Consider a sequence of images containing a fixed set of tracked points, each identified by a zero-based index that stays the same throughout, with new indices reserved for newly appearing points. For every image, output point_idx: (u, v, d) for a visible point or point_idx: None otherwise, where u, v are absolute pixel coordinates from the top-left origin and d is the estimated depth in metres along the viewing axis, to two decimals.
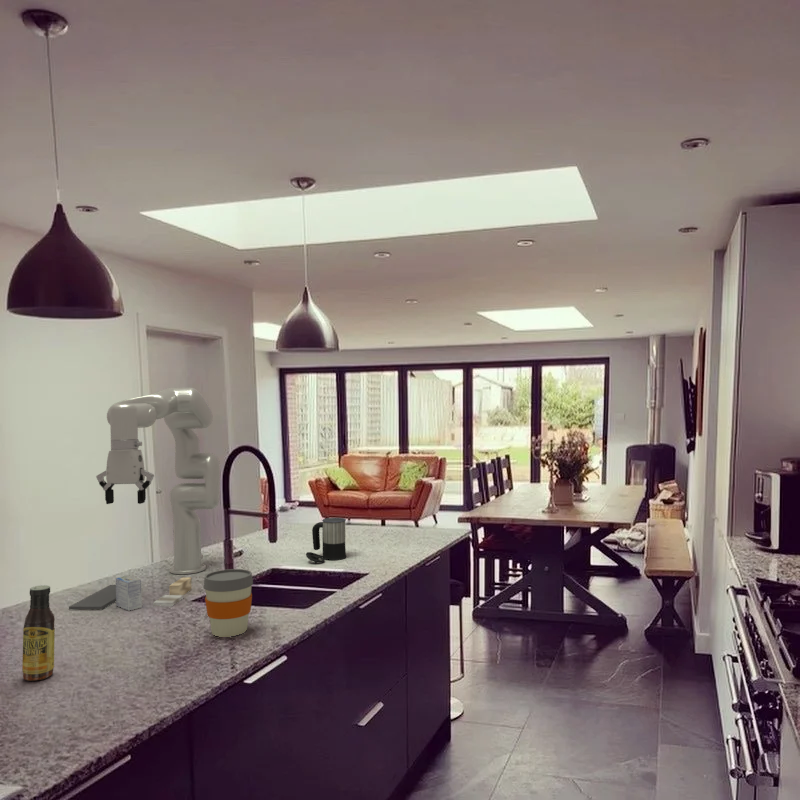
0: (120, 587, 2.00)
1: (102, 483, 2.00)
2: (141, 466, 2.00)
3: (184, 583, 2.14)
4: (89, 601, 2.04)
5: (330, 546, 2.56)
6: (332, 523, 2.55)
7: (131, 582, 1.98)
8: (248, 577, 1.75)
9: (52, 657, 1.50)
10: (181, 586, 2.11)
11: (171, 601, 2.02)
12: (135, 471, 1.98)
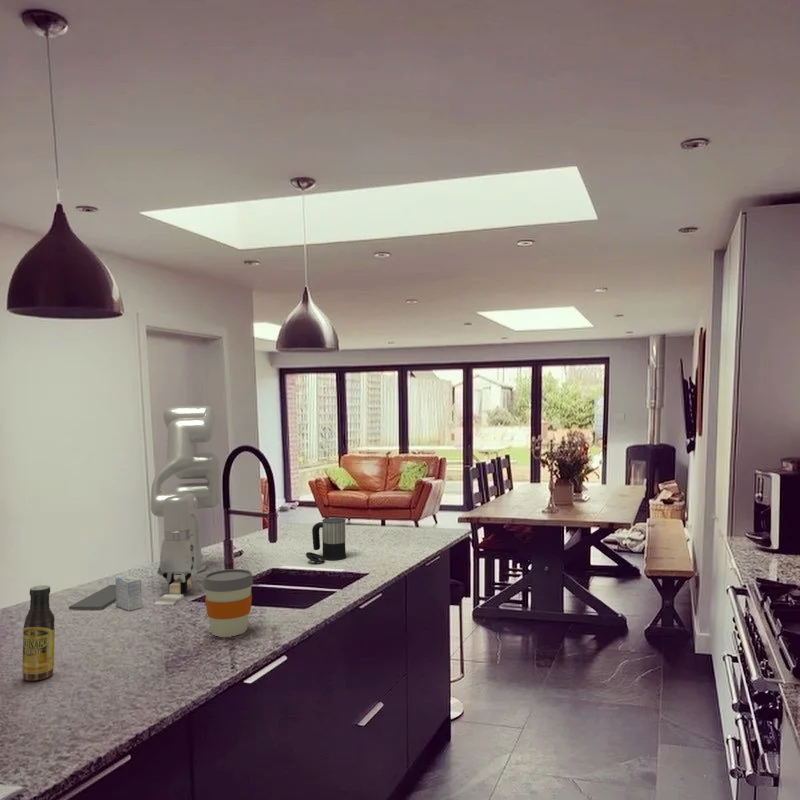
0: (120, 587, 2.00)
1: (166, 575, 2.12)
2: (193, 555, 2.12)
3: None
4: (89, 601, 2.04)
5: (330, 546, 2.56)
6: (332, 523, 2.55)
7: (131, 582, 1.98)
8: (248, 577, 1.75)
9: (52, 657, 1.50)
10: None
11: (171, 602, 2.02)
12: (187, 561, 2.10)
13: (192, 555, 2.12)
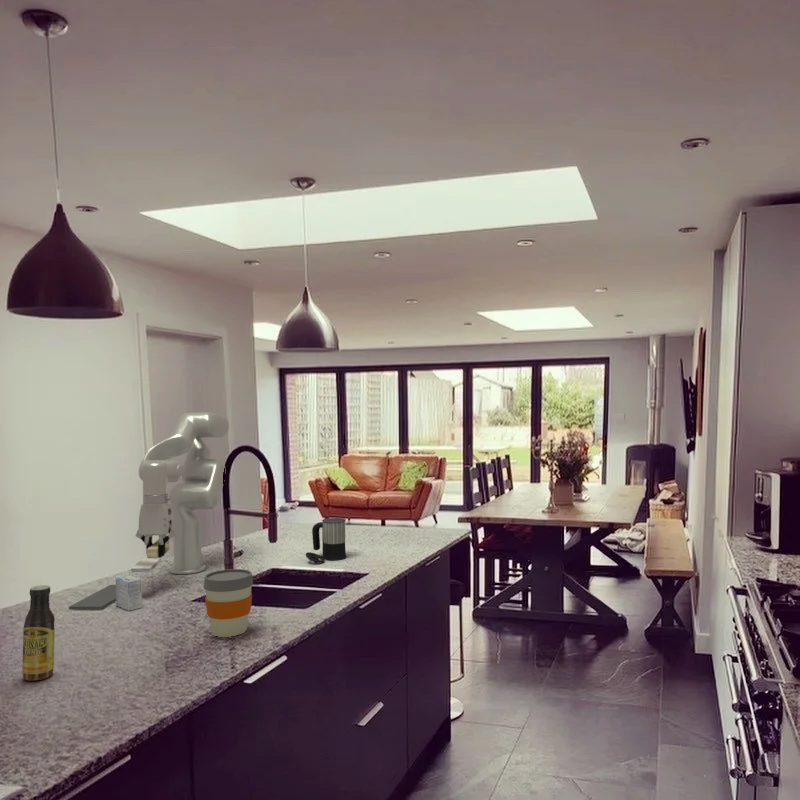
0: (120, 587, 2.00)
1: (143, 538, 2.19)
2: (170, 519, 2.20)
3: None
4: (89, 601, 2.04)
5: (329, 546, 2.55)
6: (332, 523, 2.55)
7: (131, 582, 1.98)
8: (248, 577, 1.75)
9: (52, 657, 1.50)
10: None
11: (148, 567, 2.10)
12: (165, 524, 2.17)
13: (170, 519, 2.19)
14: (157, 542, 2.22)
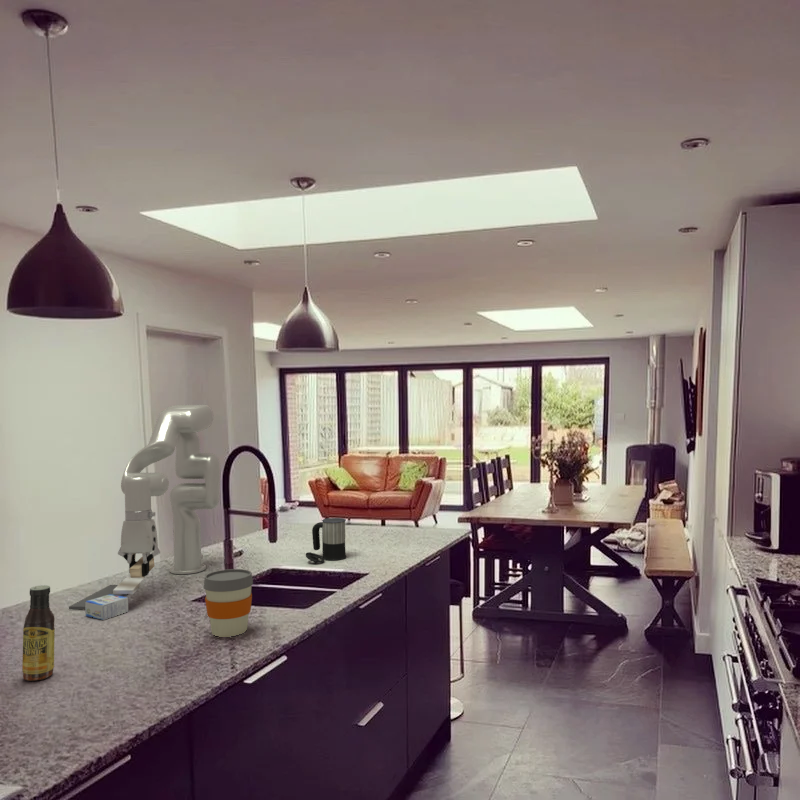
0: None
1: (126, 556, 2.07)
2: (154, 536, 2.08)
3: None
4: None
5: (329, 546, 2.55)
6: (332, 523, 2.55)
7: (103, 616, 1.89)
8: (248, 577, 1.75)
9: (52, 657, 1.50)
10: None
11: (131, 588, 1.98)
12: (149, 541, 2.06)
13: (154, 536, 2.07)
14: (141, 560, 2.11)
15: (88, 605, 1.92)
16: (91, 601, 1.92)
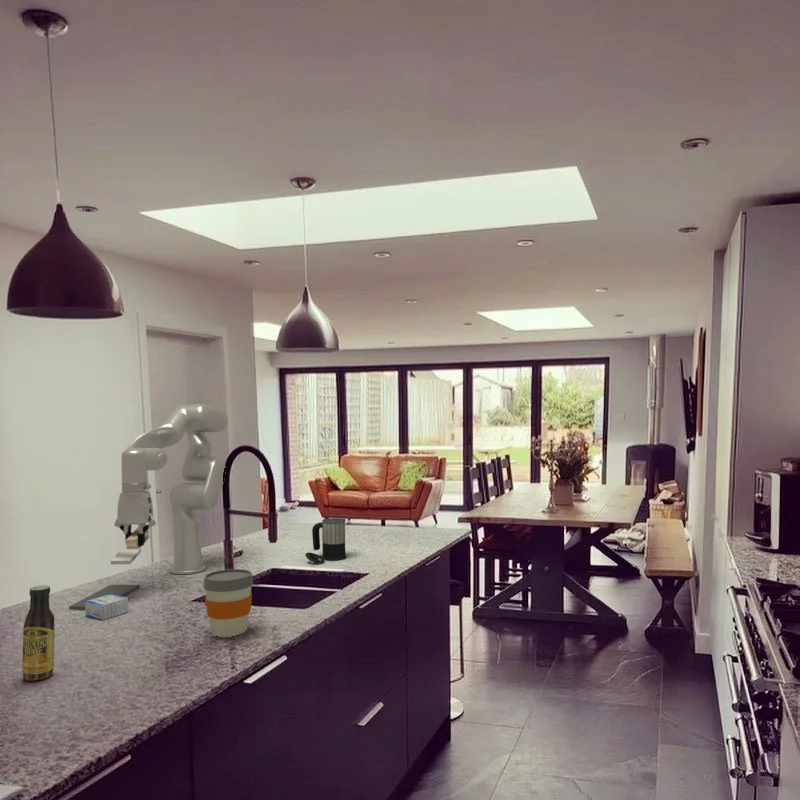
0: None
1: (122, 527, 2.15)
2: (150, 507, 2.15)
3: None
4: None
5: (329, 546, 2.55)
6: (332, 523, 2.55)
7: (103, 616, 1.89)
8: (248, 577, 1.75)
9: (52, 657, 1.50)
10: None
11: (128, 559, 2.06)
12: (145, 512, 2.13)
13: (149, 507, 2.15)
14: (136, 531, 2.18)
15: (88, 605, 1.92)
16: (91, 601, 1.92)
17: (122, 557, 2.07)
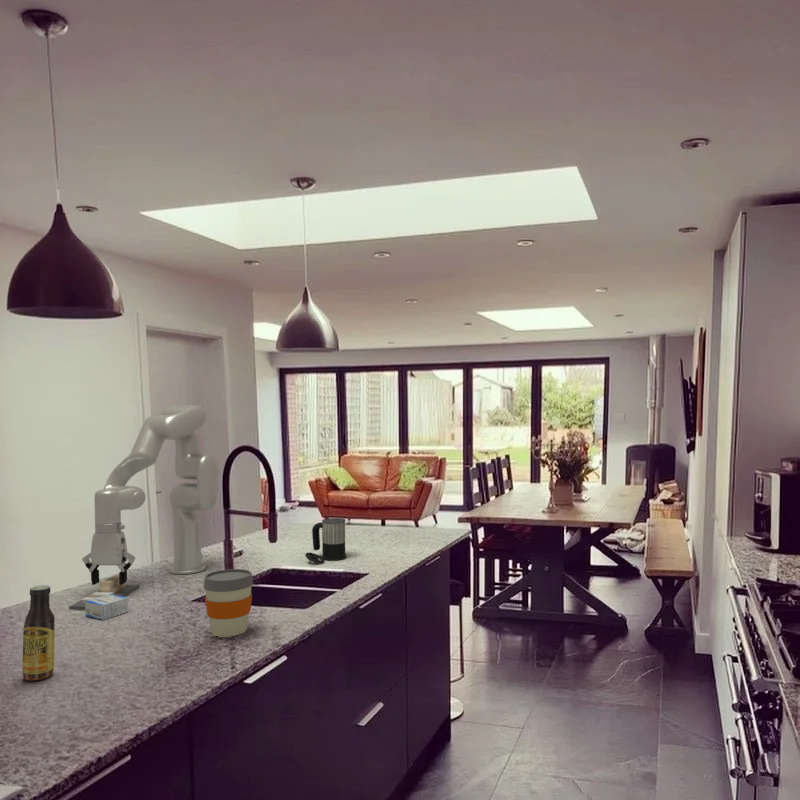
0: None
1: (88, 565, 2.13)
2: (124, 548, 2.13)
3: (116, 580, 2.14)
4: None
5: (329, 546, 2.55)
6: (332, 523, 2.55)
7: (103, 616, 1.89)
8: (248, 577, 1.75)
9: (52, 657, 1.50)
10: (112, 583, 2.12)
11: None
12: (118, 553, 2.11)
13: (123, 548, 2.12)
14: (112, 578, 2.16)
15: (88, 605, 1.92)
16: (91, 601, 1.92)
17: (94, 597, 2.04)
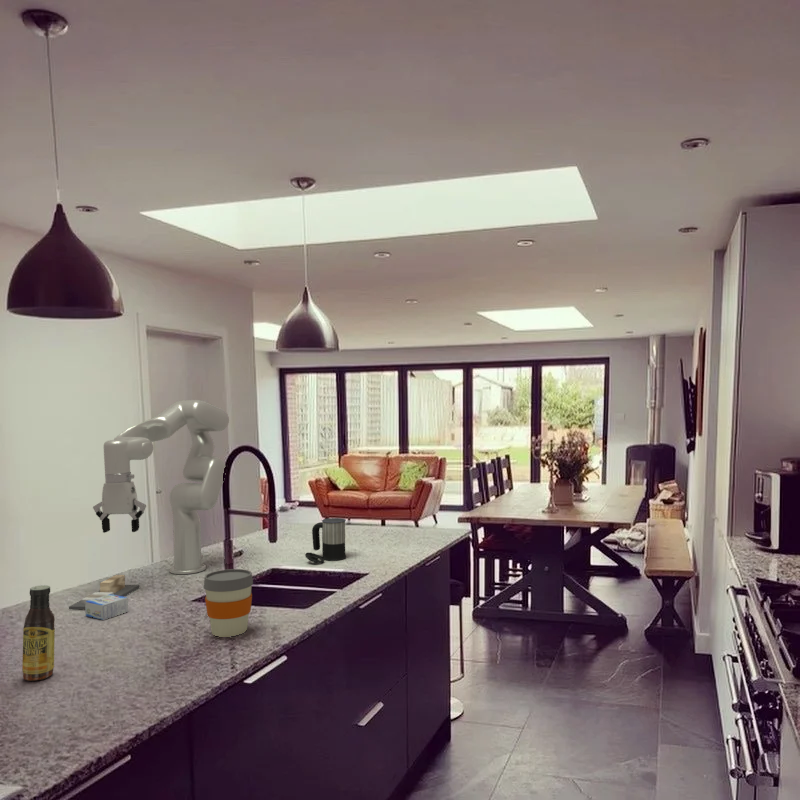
0: None
1: (98, 513, 2.16)
2: (134, 497, 2.16)
3: (116, 580, 2.14)
4: None
5: (329, 546, 2.55)
6: (331, 523, 2.55)
7: (103, 616, 1.89)
8: (248, 577, 1.75)
9: (52, 657, 1.50)
10: (112, 583, 2.12)
11: None
12: (128, 502, 2.13)
13: (133, 497, 2.15)
14: (112, 578, 2.16)
15: (88, 605, 1.92)
16: (91, 601, 1.92)
17: (94, 597, 2.04)
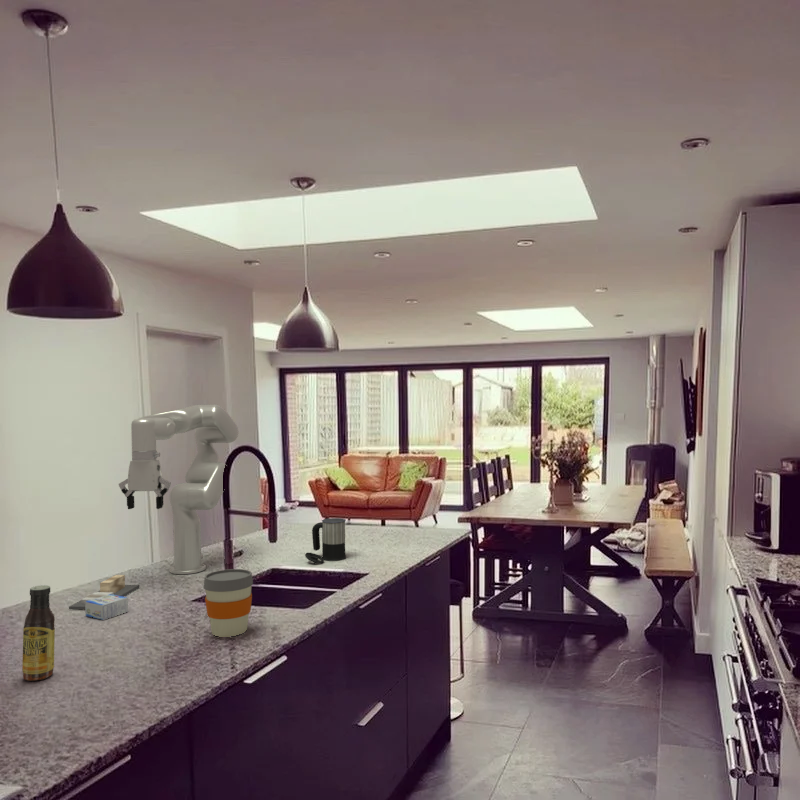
0: None
1: (124, 490, 2.21)
2: (159, 475, 2.21)
3: (116, 580, 2.14)
4: None
5: (329, 546, 2.55)
6: (331, 523, 2.55)
7: (103, 616, 1.89)
8: (248, 577, 1.75)
9: (52, 657, 1.50)
10: (112, 583, 2.12)
11: None
12: (154, 479, 2.19)
13: (159, 475, 2.21)
14: (112, 578, 2.16)
15: (88, 605, 1.92)
16: (91, 601, 1.92)
17: (94, 597, 2.04)
